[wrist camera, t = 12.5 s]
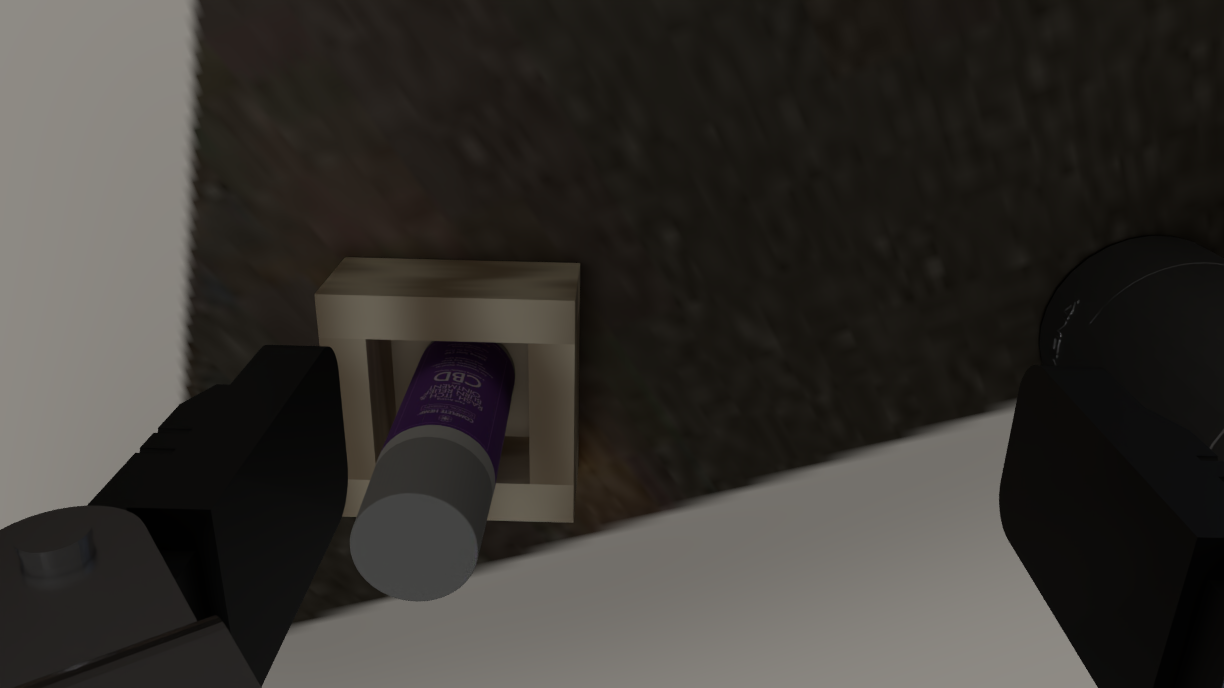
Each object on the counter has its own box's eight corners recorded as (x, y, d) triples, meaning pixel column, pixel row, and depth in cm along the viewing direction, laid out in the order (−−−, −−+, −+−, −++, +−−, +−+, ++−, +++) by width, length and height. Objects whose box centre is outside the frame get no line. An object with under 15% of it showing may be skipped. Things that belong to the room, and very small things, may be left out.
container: (497, 316, 47) (455, 475, 34) (528, 402, 49) (500, 586, 35) (404, 342, 48) (324, 509, 34) (438, 426, 50) (375, 618, 36)
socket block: (580, 263, 47) (575, 300, 42) (578, 468, 51) (573, 522, 47) (345, 256, 47) (314, 294, 42) (362, 462, 51) (336, 516, 47)
